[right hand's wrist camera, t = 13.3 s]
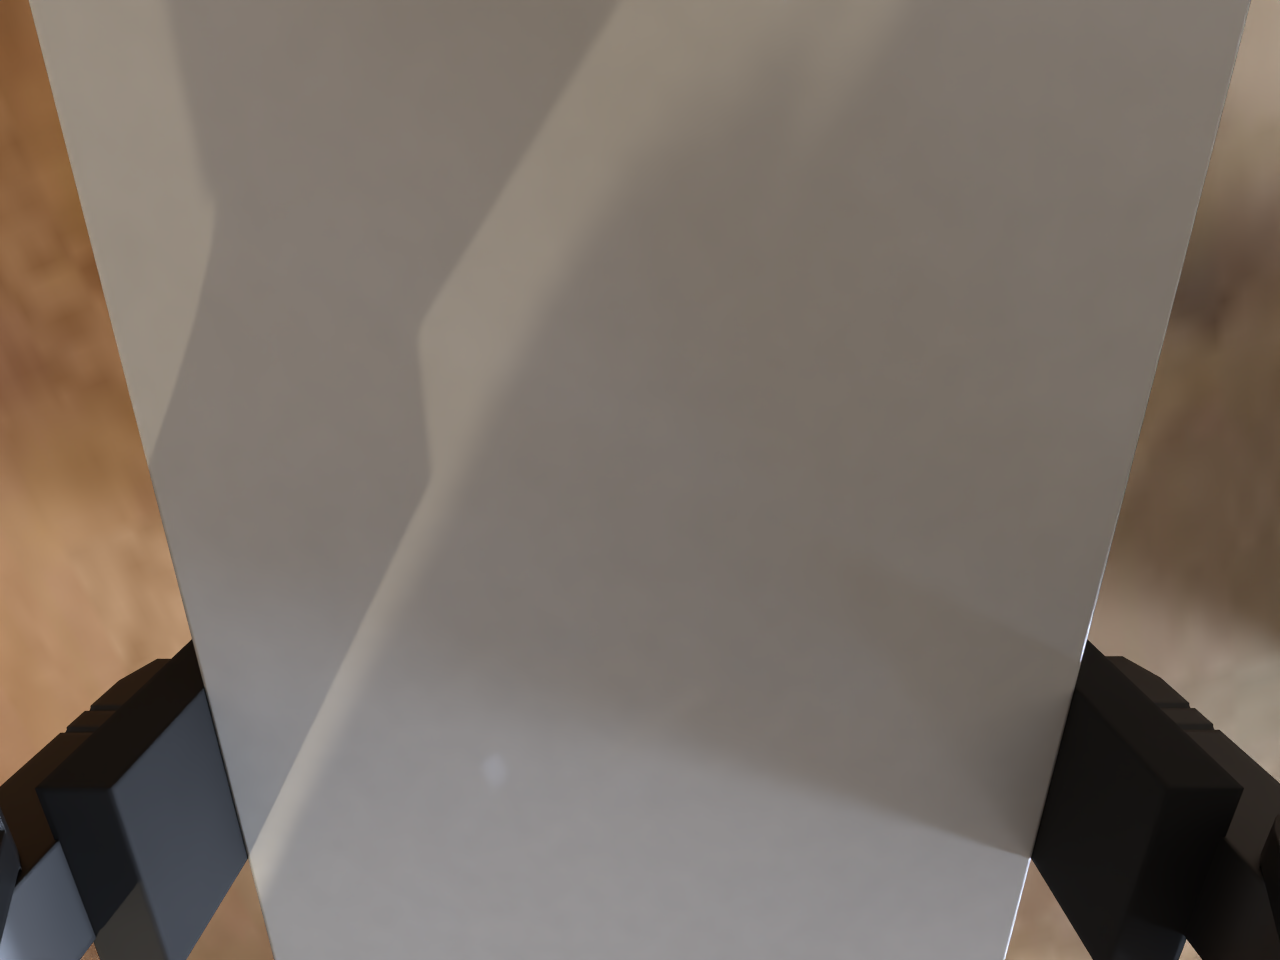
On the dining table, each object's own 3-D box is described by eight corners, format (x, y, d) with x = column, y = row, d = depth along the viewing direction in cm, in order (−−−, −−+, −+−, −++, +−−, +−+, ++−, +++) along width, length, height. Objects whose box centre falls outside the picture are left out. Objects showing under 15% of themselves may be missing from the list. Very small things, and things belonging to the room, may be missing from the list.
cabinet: (358, -253, 13) (-343, -1421, 4) (921, -252, 13) (1619, -1416, 4) (450, 613, 19) (276, 976, 10) (829, 613, 19) (1003, 976, 10)
